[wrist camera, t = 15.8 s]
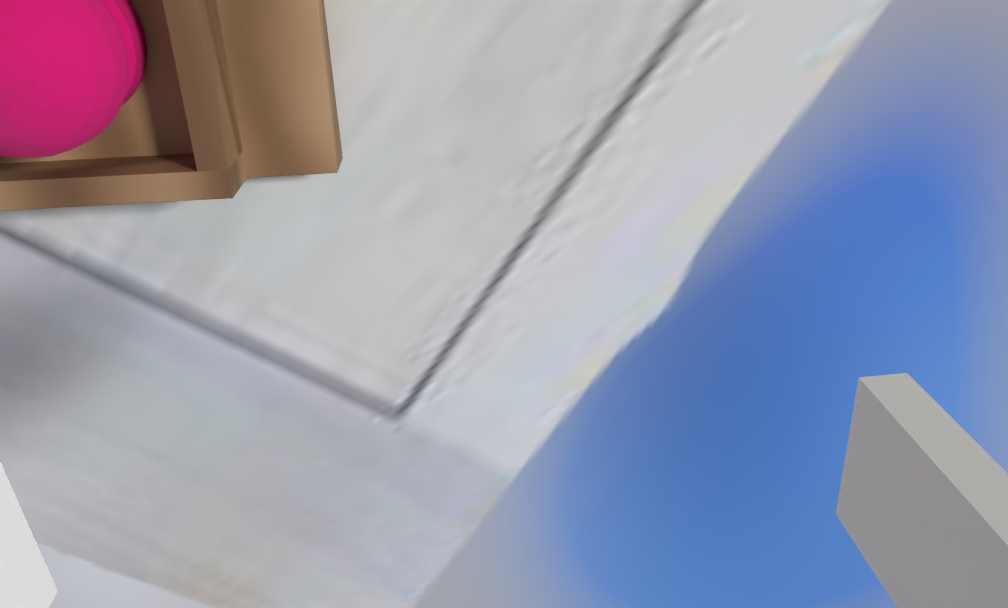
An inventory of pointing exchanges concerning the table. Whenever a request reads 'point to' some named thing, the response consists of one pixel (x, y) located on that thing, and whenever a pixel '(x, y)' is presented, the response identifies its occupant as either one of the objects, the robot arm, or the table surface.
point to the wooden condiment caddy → (202, 111)
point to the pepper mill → (65, 71)
